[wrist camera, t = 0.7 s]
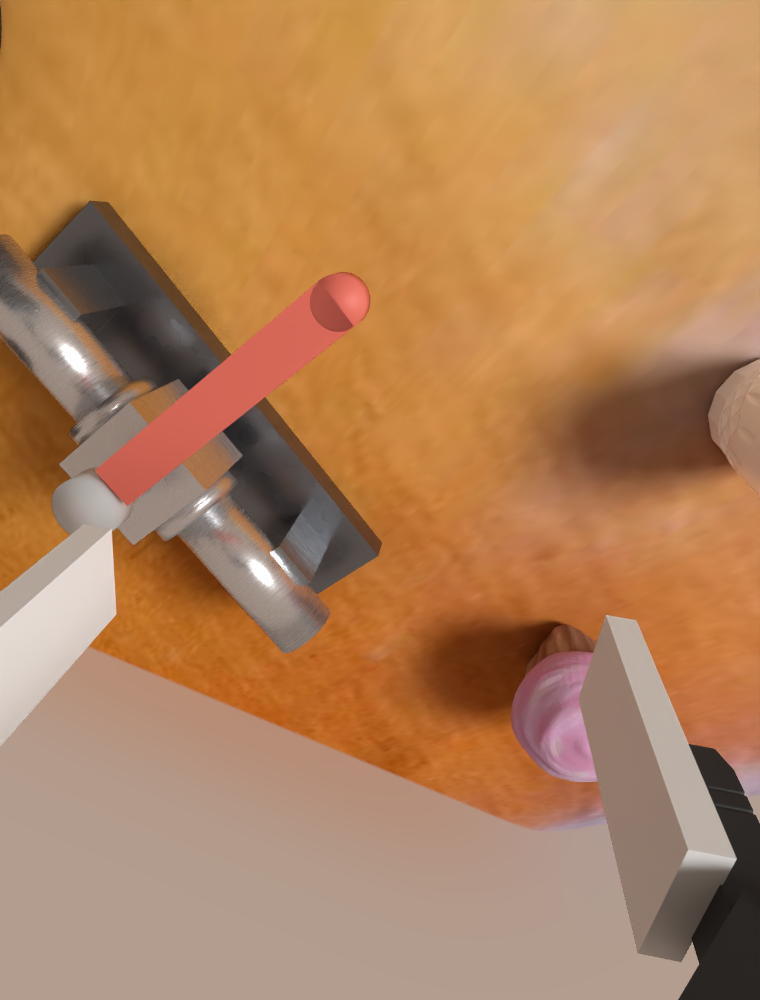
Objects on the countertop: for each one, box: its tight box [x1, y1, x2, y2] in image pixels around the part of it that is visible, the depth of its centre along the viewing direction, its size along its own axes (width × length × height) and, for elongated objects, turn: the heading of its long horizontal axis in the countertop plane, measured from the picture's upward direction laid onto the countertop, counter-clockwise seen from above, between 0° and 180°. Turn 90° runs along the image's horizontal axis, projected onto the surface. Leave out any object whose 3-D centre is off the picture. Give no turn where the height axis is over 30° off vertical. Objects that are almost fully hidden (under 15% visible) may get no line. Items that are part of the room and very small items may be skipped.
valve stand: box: [0, 201, 382, 653], centre depth 38 cm, size 28×10×12 cm, turn 38°
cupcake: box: [511, 625, 597, 782], centre depth 42 cm, size 9×9×10 cm
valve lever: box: [52, 272, 370, 535], centre depth 29 cm, size 19×3×2 cm, turn 128°
